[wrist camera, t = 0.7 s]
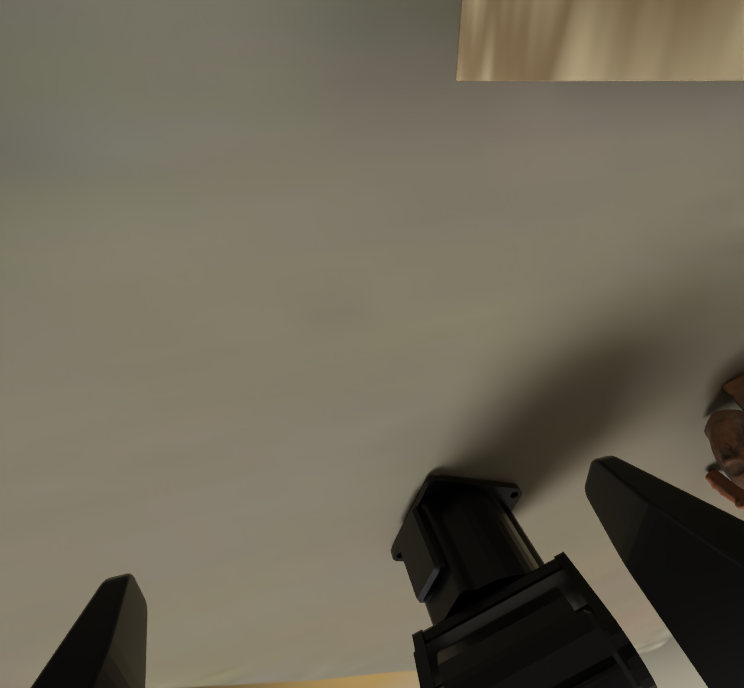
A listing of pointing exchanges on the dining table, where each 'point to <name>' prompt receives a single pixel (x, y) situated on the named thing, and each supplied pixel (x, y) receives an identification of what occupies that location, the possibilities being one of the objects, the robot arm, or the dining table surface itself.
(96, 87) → the dining table surface
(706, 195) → the dining table surface
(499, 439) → the dining table surface
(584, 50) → the beech pin
